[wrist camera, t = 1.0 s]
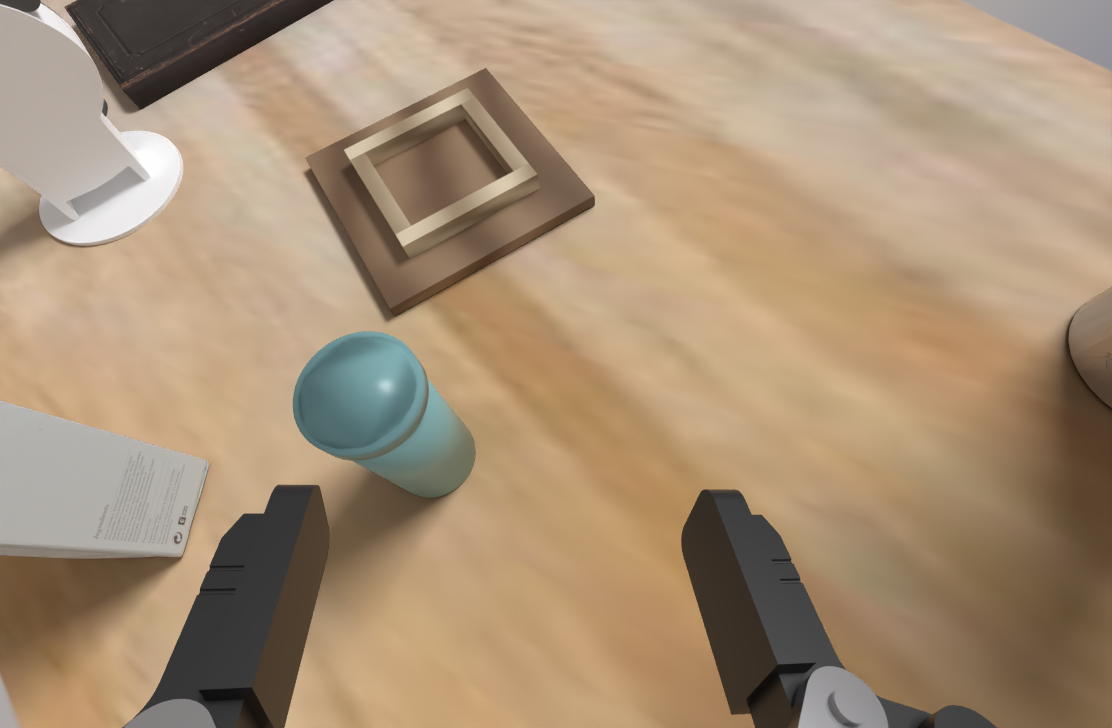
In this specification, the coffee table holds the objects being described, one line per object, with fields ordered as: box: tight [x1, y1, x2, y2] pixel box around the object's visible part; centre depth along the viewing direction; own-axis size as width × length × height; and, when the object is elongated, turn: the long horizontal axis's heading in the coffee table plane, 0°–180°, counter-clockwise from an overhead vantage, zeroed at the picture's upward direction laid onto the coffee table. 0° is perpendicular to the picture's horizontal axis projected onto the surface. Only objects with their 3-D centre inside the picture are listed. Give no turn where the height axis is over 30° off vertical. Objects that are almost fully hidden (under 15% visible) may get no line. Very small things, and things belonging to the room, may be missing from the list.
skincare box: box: [0, 401, 209, 559], centre depth 26 cm, size 8×6×15 cm
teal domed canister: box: [293, 332, 476, 498], centre depth 27 cm, size 5×5×11 cm
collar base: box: [305, 68, 595, 316], centre depth 39 cm, size 16×16×2 cm
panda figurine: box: [0, 0, 183, 246], centre depth 37 cm, size 12×11×15 cm
